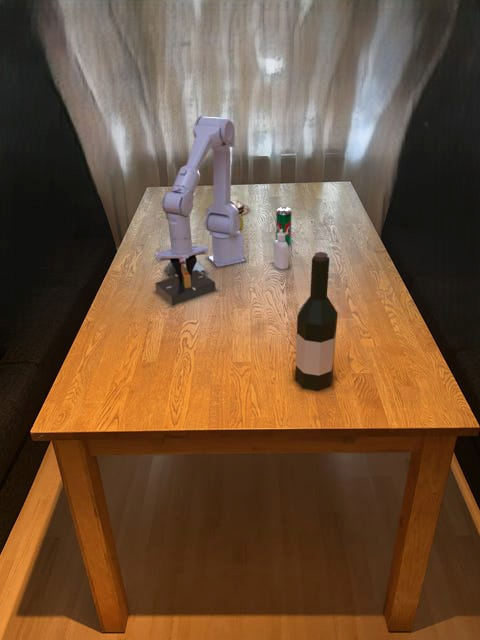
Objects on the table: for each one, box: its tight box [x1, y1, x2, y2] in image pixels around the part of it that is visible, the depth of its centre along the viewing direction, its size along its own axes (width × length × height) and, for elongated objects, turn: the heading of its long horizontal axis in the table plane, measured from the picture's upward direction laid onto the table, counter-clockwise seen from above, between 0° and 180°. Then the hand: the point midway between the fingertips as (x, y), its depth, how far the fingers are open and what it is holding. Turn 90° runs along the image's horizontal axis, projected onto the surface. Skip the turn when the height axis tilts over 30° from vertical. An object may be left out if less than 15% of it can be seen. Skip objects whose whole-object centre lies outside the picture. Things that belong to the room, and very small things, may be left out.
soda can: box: [275, 206, 293, 246], centre depth 176 cm, size 5×5×12 cm
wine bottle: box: [294, 251, 339, 392], centre depth 109 cm, size 8×8×30 cm
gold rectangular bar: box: [181, 264, 191, 288], centre depth 150 cm, size 8×2×4 cm, turn 19°
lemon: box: [239, 214, 244, 233], centre depth 185 cm, size 6×6×8 cm
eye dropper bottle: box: [273, 229, 289, 270], centre depth 161 cm, size 4×6×12 cm
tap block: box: [154, 270, 216, 307], centre depth 151 cm, size 14×12×3 cm
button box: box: [165, 260, 206, 278], centre depth 162 cm, size 10×8×3 cm
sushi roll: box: [212, 199, 248, 216], centre depth 206 cm, size 15×15×4 cm
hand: (184, 280), depth 150 cm, fingers closed on gold rectangular bar, 2 cm apart
